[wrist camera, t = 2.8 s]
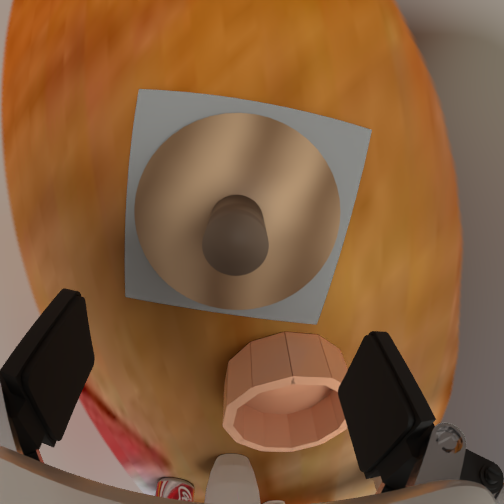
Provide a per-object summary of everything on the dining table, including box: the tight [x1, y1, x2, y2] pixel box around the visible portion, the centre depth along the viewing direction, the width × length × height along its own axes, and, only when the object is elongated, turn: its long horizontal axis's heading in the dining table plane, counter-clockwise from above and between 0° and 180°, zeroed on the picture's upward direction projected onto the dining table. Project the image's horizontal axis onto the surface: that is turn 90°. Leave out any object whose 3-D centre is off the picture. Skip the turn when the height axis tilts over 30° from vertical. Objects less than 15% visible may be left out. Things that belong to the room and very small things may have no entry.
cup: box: [205, 454, 261, 504], centre depth 35 cm, size 8×8×10 cm
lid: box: [134, 113, 340, 310], centre depth 21 cm, size 16×16×6 cm
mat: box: [125, 89, 372, 324], centre depth 24 cm, size 18×18×1 cm
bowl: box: [222, 332, 348, 452], centre depth 29 cm, size 13×13×6 cm
